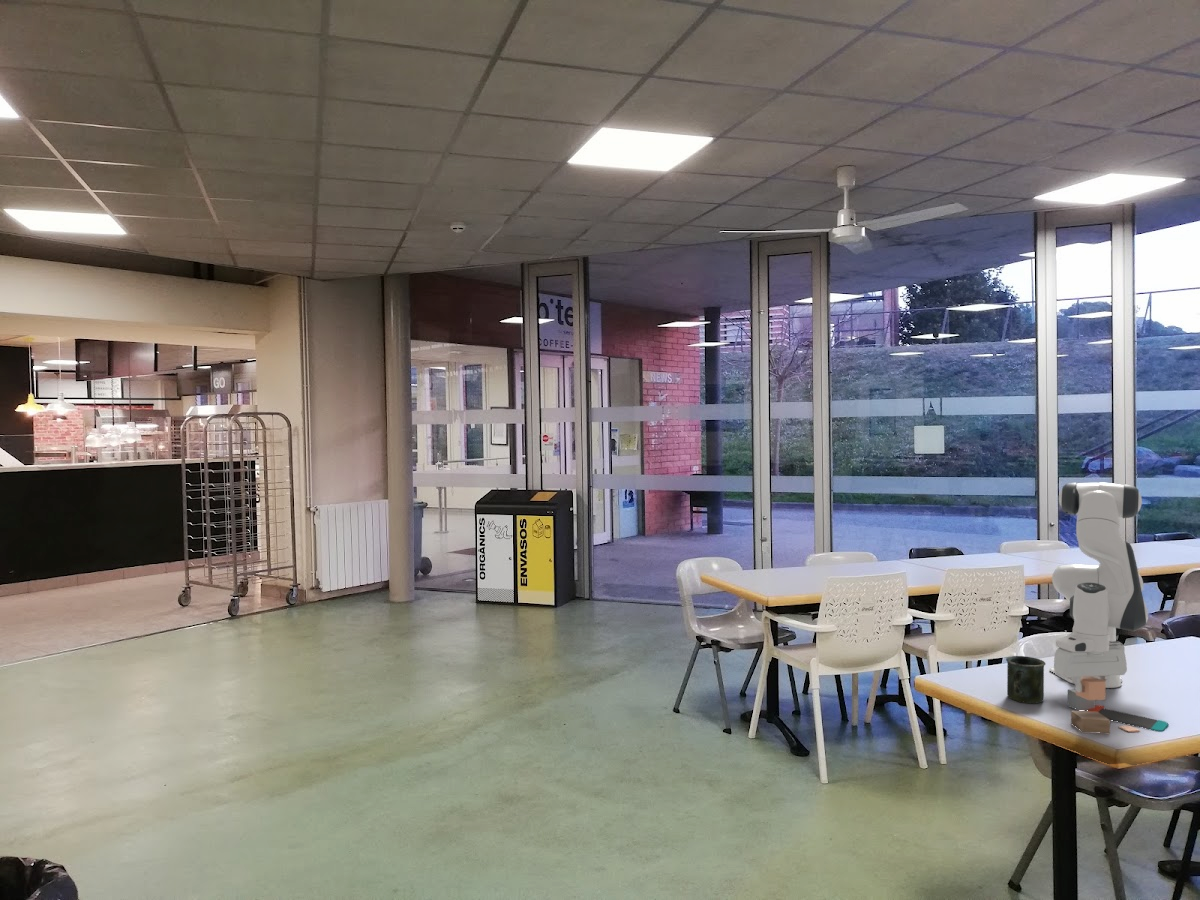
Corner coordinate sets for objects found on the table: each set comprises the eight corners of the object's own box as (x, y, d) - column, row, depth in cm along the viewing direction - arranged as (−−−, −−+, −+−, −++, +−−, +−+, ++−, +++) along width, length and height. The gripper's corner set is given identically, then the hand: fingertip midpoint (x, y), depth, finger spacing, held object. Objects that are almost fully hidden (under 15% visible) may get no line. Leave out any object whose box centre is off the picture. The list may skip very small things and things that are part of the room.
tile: (1118, 727, 225) (1118, 726, 225) (1129, 727, 225) (1129, 725, 225) (1128, 732, 221) (1128, 730, 221) (1139, 731, 222) (1139, 730, 222)
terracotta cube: (1075, 694, 226) (1075, 677, 226) (1091, 694, 227) (1091, 676, 227) (1089, 700, 221) (1089, 682, 221) (1105, 699, 222) (1105, 681, 222)
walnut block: (1070, 724, 228) (1071, 710, 228) (1097, 725, 227) (1097, 711, 227) (1082, 733, 221) (1082, 719, 221) (1109, 734, 221) (1109, 720, 220)
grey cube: (1067, 705, 244) (1067, 689, 244) (1082, 704, 244) (1082, 688, 244) (1079, 711, 239) (1079, 694, 239) (1094, 710, 239) (1094, 693, 239)
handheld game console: (1162, 734, 222) (1171, 724, 228) (1162, 731, 222) (1171, 720, 228) (1083, 717, 236) (1094, 707, 243) (1083, 713, 236) (1094, 703, 242)
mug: (1049, 698, 250) (1049, 660, 250) (1036, 710, 240) (1036, 670, 240) (1012, 690, 258) (1012, 653, 258) (997, 701, 247) (997, 663, 247)
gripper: (1115, 638, 229) (1114, 686, 229) (1050, 640, 226) (1049, 689, 226) (1132, 643, 222) (1132, 693, 223) (1066, 646, 219) (1066, 696, 220)
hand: (1090, 691), depth 224 cm, fingers closed on terracotta cube, 5 cm apart
